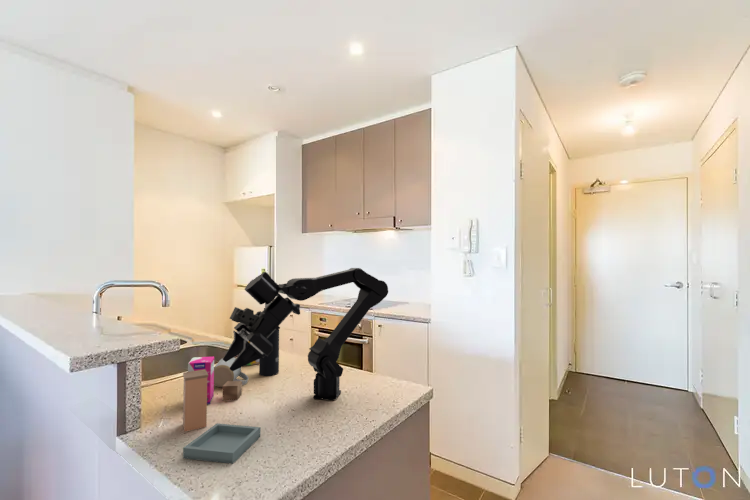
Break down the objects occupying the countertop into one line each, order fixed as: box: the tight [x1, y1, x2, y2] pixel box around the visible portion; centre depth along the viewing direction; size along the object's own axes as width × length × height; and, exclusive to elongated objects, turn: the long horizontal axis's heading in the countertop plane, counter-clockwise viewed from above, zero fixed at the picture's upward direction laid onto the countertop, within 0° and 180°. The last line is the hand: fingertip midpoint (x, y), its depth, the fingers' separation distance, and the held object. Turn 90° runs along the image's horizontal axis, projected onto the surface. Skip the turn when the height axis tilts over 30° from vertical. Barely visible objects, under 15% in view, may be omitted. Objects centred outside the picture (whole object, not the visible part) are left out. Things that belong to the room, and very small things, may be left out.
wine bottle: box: [258, 302, 280, 377], centre depth 122 cm, size 6×6×30 cm
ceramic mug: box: [214, 357, 249, 388], centre depth 111 cm, size 11×8×8 cm
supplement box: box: [187, 355, 215, 405], centre depth 97 cm, size 6×6×12 cm
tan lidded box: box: [182, 369, 208, 433], centre depth 83 cm, size 5×5×12 cm
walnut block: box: [222, 381, 243, 401], centre depth 100 cm, size 4×4×4 cm
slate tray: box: [182, 422, 262, 465], centre depth 73 cm, size 11×11×2 cm
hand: (227, 365), depth 87 cm, fingers open, 9 cm apart
